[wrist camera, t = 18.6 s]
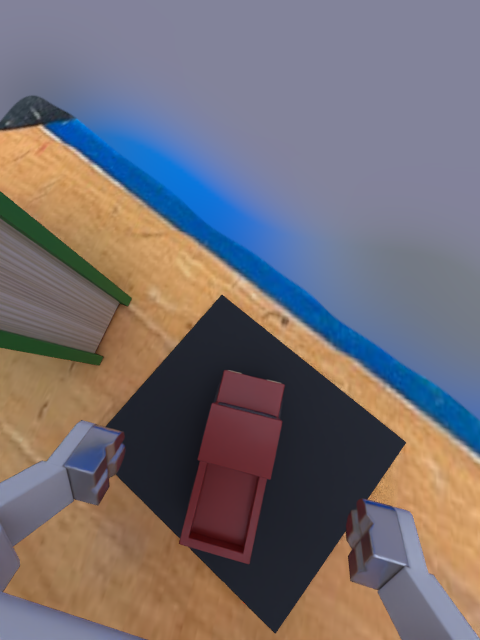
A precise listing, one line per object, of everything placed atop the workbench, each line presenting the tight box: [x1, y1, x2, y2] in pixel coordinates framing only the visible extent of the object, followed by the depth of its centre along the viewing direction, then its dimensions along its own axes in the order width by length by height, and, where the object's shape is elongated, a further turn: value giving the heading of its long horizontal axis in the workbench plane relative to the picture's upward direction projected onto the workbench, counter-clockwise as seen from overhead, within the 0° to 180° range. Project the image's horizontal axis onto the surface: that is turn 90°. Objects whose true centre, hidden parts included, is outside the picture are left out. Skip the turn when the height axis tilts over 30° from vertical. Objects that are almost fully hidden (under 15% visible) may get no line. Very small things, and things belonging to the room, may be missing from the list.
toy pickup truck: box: [179, 370, 285, 564], centre depth 25 cm, size 13×6×8 cm, turn 166°
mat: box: [106, 295, 406, 633], centre depth 29 cm, size 19×22×1 cm
